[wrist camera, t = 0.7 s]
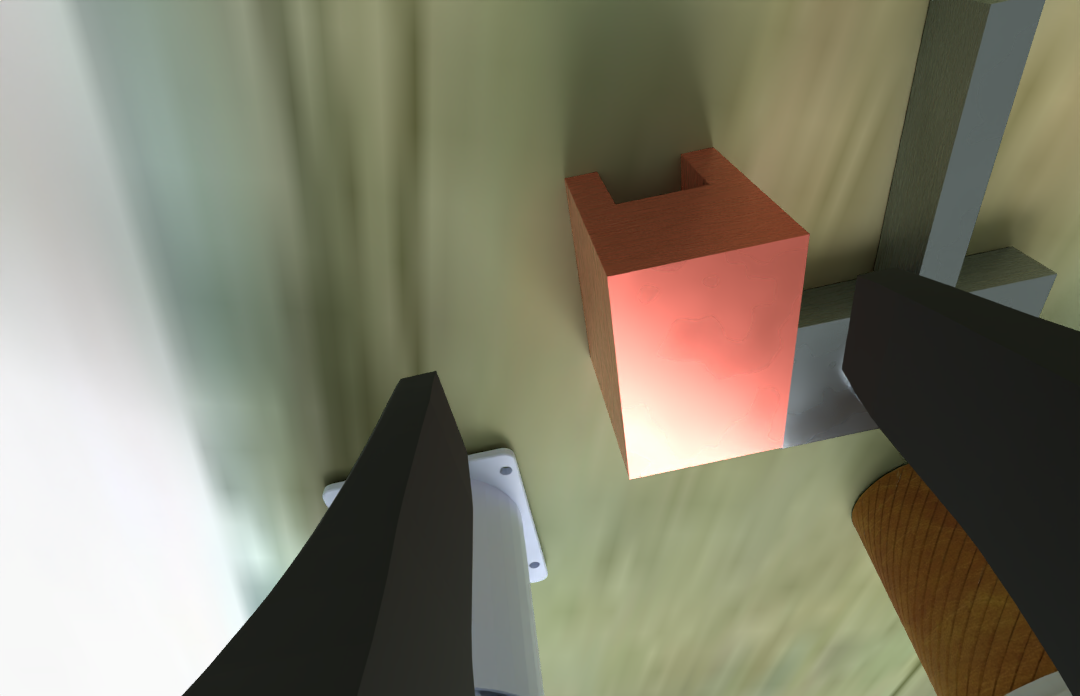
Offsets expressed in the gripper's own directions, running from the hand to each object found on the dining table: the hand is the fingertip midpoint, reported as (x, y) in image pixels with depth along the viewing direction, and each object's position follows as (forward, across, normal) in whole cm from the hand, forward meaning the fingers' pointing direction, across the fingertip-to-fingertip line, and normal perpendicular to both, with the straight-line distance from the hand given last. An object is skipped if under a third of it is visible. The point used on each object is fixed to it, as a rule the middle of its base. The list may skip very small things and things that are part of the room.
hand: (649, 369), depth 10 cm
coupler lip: (+9, -11, +5) cm, 15 cm away
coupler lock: (+10, -2, +4) cm, 10 cm away
